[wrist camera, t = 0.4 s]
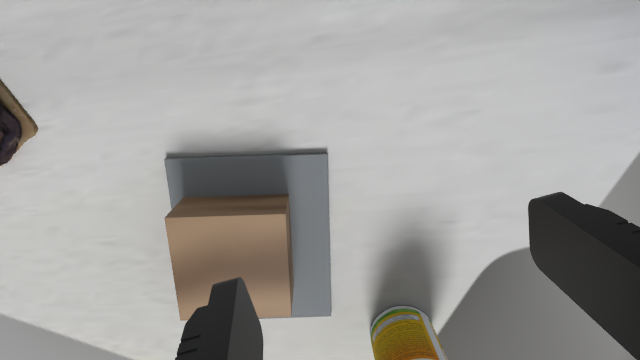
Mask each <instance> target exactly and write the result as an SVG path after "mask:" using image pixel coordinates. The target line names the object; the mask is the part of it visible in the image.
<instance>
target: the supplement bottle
mask: <svg viewBox="0 0 640 360" xmlns="http://www.w3.org/2000/svg"><path fill="white" fill-rule="evenodd" d="M370 337H371V343H372V348H373V353H374V357H375V360H447V357H446V355H445V353H444V351H443V349H442V346H441V344H440V342H439V340H438V337H437V335H436V332H435V330H434V328H433V326H432V324H431V322H430V320H429V318H428V317H427V316H426V315H425V314H424V313H423V312H422V311H420V310H418V309H416V308H414V307H410V306H396V307H392V308H389V309H387V310H385V311H384V312H382V313H381V314H380V315H379V316H378V317H377V318H376V319H375V321H374V322H373V324H372V327H371V332H370Z"/></svg>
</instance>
